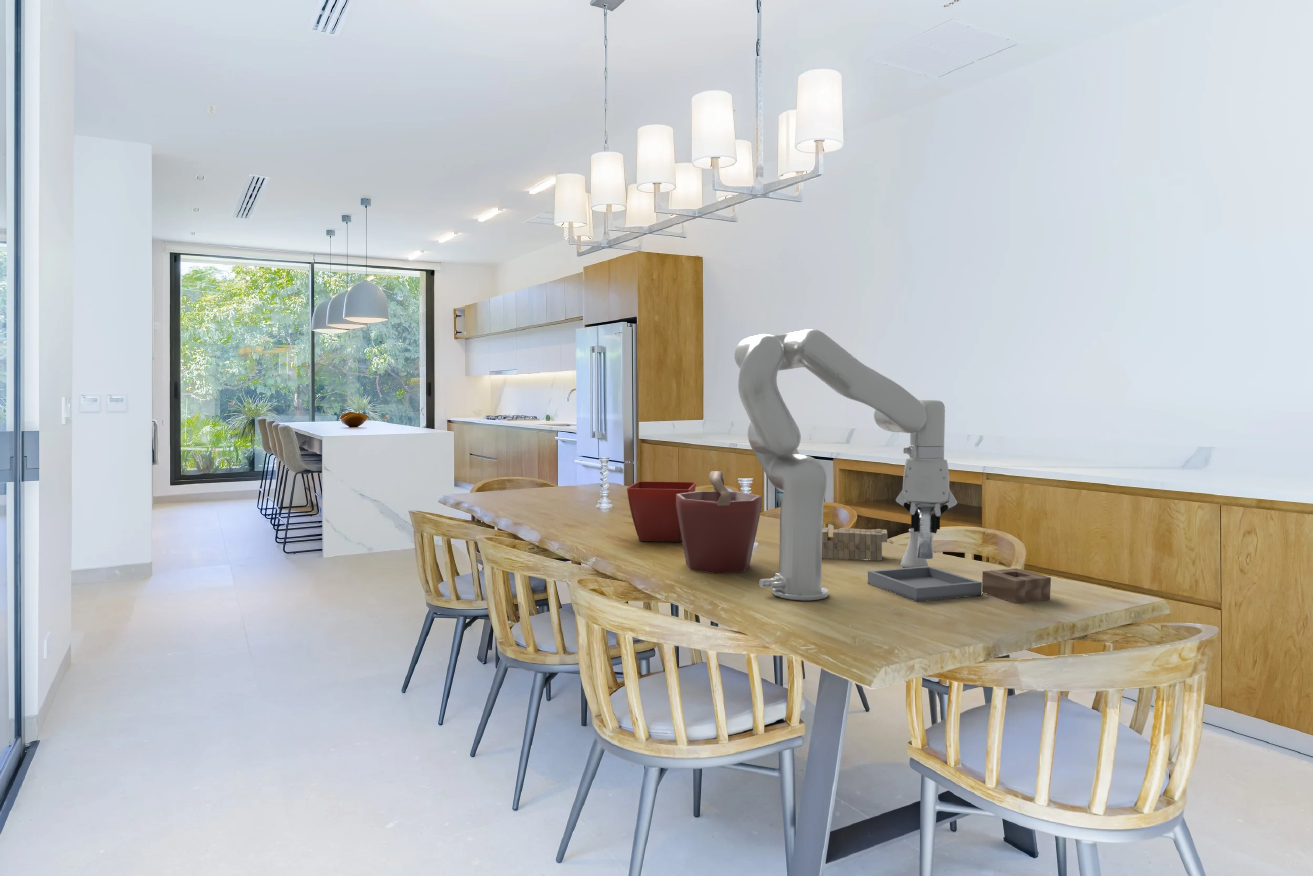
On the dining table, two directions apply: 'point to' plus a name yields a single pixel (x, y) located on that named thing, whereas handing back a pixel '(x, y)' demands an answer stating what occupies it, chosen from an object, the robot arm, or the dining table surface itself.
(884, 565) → the dining table surface
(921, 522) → the steel pin
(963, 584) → the tray
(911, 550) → the flask
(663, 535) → the plant pot
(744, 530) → the bucket
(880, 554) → the block tower
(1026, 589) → the socket block
